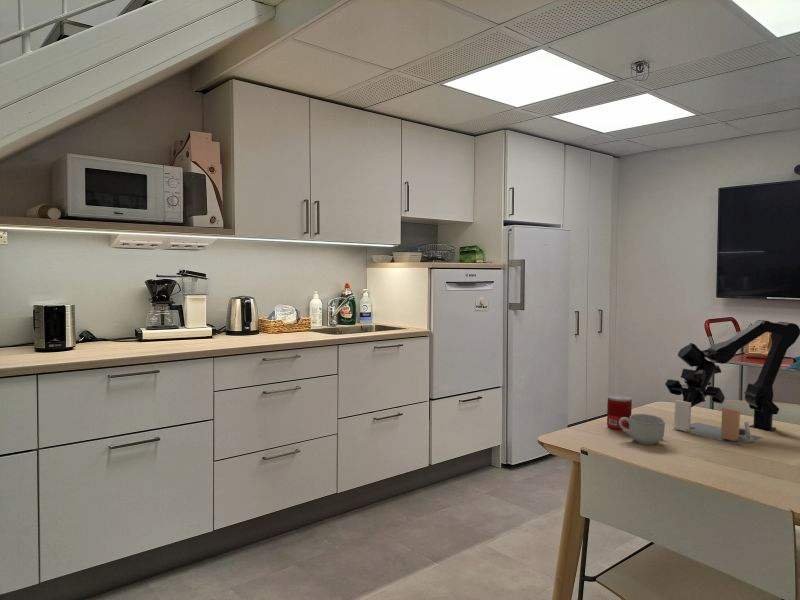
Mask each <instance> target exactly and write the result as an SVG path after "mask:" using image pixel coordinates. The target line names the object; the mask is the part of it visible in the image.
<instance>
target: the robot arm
mask: <svg viewBox="0 0 800 600" xmlns="http://www.w3.org/2000/svg"><path fill="white" fill-rule="evenodd" d="M765 333H770V340H771V345H770V348H769V351H768V353H767V355H766V358H765V360H764V362H763V365H762V368H761V370H760V373H759V376H758V378H757V380H756V381H755V382H754V383H753V384H752V383H748V384H747V386H746V387H747V388H746V390H745V391H744V392H743V394H745V395H744V399H745V401H746V403H747V404H748V406H749V409H751V410H753V420H752V421H753V424H751V425H750V424H749V428H752V429H757V430H762V431H766V432H771V431H774V430H777V427H776V426H773V416H774V415H778V413H779V411H780V408H779V407H778V406H777V405H776V404H775V403H774V402H773V400H774V399H773V398H774V389H773V386H774V383H775V381H776V379H777V375H778V373H779V371H780V368H781V365H782V363H783V361H784V359H785V356H786V354H787V351H788V349H789V348H790V347H792V346H793V345H794V344H795V343H796V342H797V340H798V339H799V337H800V327H799V325H798V324H796V323H793V322H788V321H787V322H786V321H779V322H772V321H768V320H765V319H758V320H756V321H754V322H753V323H752V324H751V325H749V326H748V327H746V328H745V329H743V330H741V331H740V332H738V333H736V334H735V335H734V336H732V337H731V338H730V339H728V340H724V341H722V342H718V343H716V344H713V345H710V346H709V347H708V348H707V349H704V350H701V349H700V348H699V347H698V346H697V345H696V344H695V343H693V342H690V343H689V344H688V345H685V346H684V347H682V348H680V349H679V351H678V353H677V357H678V358H679V359H681V360H682V361H683V362H684V363H686V365H688V366H689V367H690V368H693V367H695V370H694V369H688V368H682V371H681V375H680V378H681V379H683V380H684V383H682V384H681V382H680V380H677V379H671V378H669V379H667V380H666V381H665V383H664V384H665V386H666V388H667V391H669V393H670V394H671V395H675V396H680V395H682V396H683V397H682V398H683V399H682V401H685V402H690V403H691V408H693V407H695V406H696V405H699V404H700V403H705V402H706V399H705V398H707V397H712V399H711V400H712V401H713V402H714V403H716V404H721V405H722V404H723V403H724V401H725V398H726V397H725V394H724V393H723V391H722V389H721V388H720V387H718V386H717V387H716V386H712V384H711V380H712V377H713V375H716V374H721V373H722V370H721V368H720V366H719V365H716V364H715V363H717V364H722V365H723V364H727V363H729V362H730V361H731V360H733V358H734V357H735V356H736V354H737V353H738V351H739V350H740V349H742V348H744V347H745V346H747V345H748V344H750V343H751V342H753V341H754V340H756V339H757V338H760V337H762V335H764V334H765Z"/></svg>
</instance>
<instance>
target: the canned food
mask: <svg viewBox="0 0 800 600" xmlns="http://www.w3.org/2000/svg"><path fill="white" fill-rule="evenodd" d="M606 405H607V410H606V414H607V415H606V425H607V428H609V429H611V430H614V431H623V429H621V427H620V426H619V420H620V419H621V418H622V417H627V418H629V419H630V416H631V415H632V409H633V408H632V407H633V406H632V397H631V396H628V395H626V396H625V395H622V394H621V395H620V394H610V395H608V396H607V404H606ZM622 425H623V427H625V428H626V429H628V430H629V427H630V426H629V424H628V422H627V421H626V420H624V421H622Z"/></svg>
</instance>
